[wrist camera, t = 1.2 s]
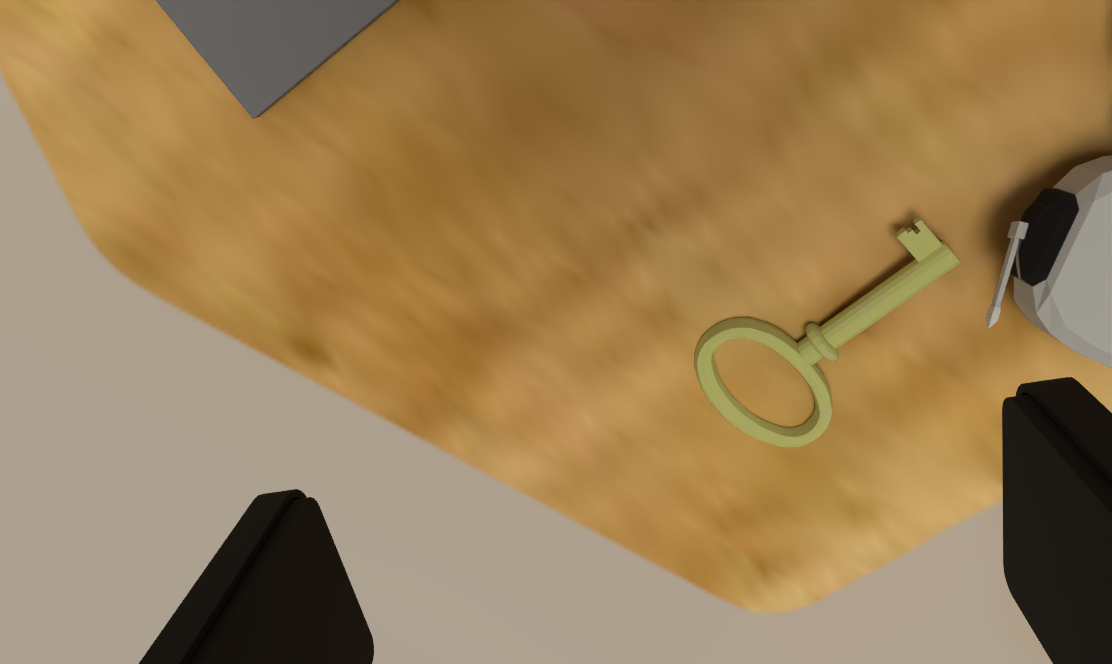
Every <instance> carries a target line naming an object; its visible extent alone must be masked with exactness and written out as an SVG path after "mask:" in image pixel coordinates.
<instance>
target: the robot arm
mask: <svg viewBox="0 0 1112 664" xmlns="http://www.w3.org/2000/svg"><path fill="white" fill-rule="evenodd" d="M1002 439H1003V564H1004V573H1005V578H1006V581H1007V585H1008V587H1009V590H1010V592H1011V594H1012V596H1013V598H1014V599H1015V601H1016V603H1017V604H1018V606H1019V608H1020V610H1021V611H1022V613H1023V615H1024V616H1025V618H1026V620H1027V621H1028V623H1029V625H1030V626H1031V628H1032V629H1033V631H1034V633H1035V634H1036V636H1037V638H1038V640H1039V641H1040V643H1041V644H1042V646H1043V648H1044V649H1045V651H1046V653H1047V654H1048V656H1049V658H1050V659H1051V661H1052V662H1053V664H1112V413H1111V412H1110V411H1109V410H1108V409H1107V408H1106V407H1105V406H1104V405H1102V404H1101V403H1100V402H1099V401H1098V400H1097V399H1096V398H1095V397H1094V396H1093V395H1092V394H1091V393H1090V392H1089V391H1088V390H1086V389H1085V388H1084V387H1083V386H1082V385H1081V384H1080V383H1079V382H1078V381H1077V380H1075V379H1074V378H1072V377H1066V378H1059V379H1052V380H1045V381H1038V382H1031V383H1024V384H1021V385H1020V386H1019V387H1018V389H1017V392H1016V396H1015V397H1008V398H1006V399H1005V400H1004V402H1003V408H1002ZM373 656H374V644H373V638H372V635H371V632H370V630H369V627H368V625H367V622H366V620H365V618H364V615H363V613H362V610H361V608H360V605H359V603H358V600H357V598H356V595H355V593H354V590H353V588H352V585H351V583H350V580H349V578H348V576H347V573H346V571H345V568H344V566H343V563H342V561H341V558H340V556H339V553H338V551H337V548H336V546H335V544H334V541H333V539H332V536H331V534H330V532H329V529H328V526H327V524H326V521H325V519H324V516H323V514H322V511H321V509H320V507H319V505H318V503H317V501H316V500H315V499H314V498H311V497H309V498H307V497H306V496H305V494H304V493H303V492H302V491H300V490H297V489H294V490H287V491H281V492H274V493H267V494H261V495H258V496H257V497H256V498H255V499H254V500H253V502H252V503H251V504H250V506H249V507H248V509H247V510H246V512H245V513H244V514H243V516H242V517H241V519H240V520H239V522H238V523H237V525H236V526H235V528H234V529H233V530H232V532H231V533H230V534H229V536H228V537H227V539H226V540H225V542H224V543H223V544H222V546H221V547H220V549H219V550H218V551H217V553H216V554H215V556H214V557H213V559H212V560H211V562H210V563H209V564H208V566H207V567H206V569H205V570H204V572H203V573H202V574H201V576H200V577H199V579H198V580H197V581H196V583H195V584H194V586H193V587H192V589H191V590H190V591H189V593H188V594H187V596H186V597H185V599H184V600H183V602H182V603H181V604H180V606H179V607H178V609H177V610H176V612H175V613H174V614H173V616H172V617H171V619H170V620H169V621H168V623H167V624H166V626H165V627H164V629H163V630H162V631H161V633H160V634H159V636H158V637H157V638H156V640H155V641H154V643H153V644H152V646H151V647H150V649H149V650H148V651H147V653H146V654H145V656H144V657H143V658H142V660H141V661H140V663H139V664H372V661H373Z"/></svg>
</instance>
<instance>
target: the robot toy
mask: <svg viewBox="0 0 1112 664" xmlns="http://www.w3.org/2000/svg"><path fill="white" fill-rule="evenodd" d="M1007 237H1008V238H1011V240H1010V243H1009V247H1008V250H1007V253H1006V257H1005V260H1004V264H1003V267H1002V270H1001V274H1000V277H999V280H998V284H997V287H996V291H995V294H994V297H993V301H992V304H991V306H989V308H988V312H987V315H986V321H987V325H988V328H990V327H991V326H992V325H993V324H995V323H996V322H997V321H998V318H999V314H1000V311H1001V308H1000V305H1001V301H1002V298H1003V295H1004V291H1005V288H1006V284H1007V281H1008V278H1009V274H1012V275H1013V276H1014V301H1015V302H1016V304H1017V305H1018V307H1019V308H1020V309H1021V311H1022V312H1023V314H1024V315H1025V317H1026V318H1027V319H1028V320H1029V321H1031V322H1032V323H1033V324H1034V325H1035V326H1037V327H1038V328H1040V329H1041V330H1043V331H1044V332H1046V333H1047V334H1049V335H1050V336H1052V337H1054V338H1055V339H1057V340H1058V341H1060V342H1061V343H1063V344H1065V345H1066V346H1068V347H1069V348H1071V349H1073V350H1074V351H1076V352H1078V353H1079V354H1081V355H1083V356H1085V357H1087V358H1090V359H1092V360H1094V361H1097V362H1099V363H1101V364H1103V365H1106V366H1108V367H1110V368H1112V155H1109V156H1103V157H1100V158H1097V159H1094V160H1091V161H1089V162H1086V163H1083V164H1080V165H1077V166H1075V167H1074V168H1073V169H1072V170H1071V171H1070V172H1069V173H1067V174H1066V175H1065V176H1064V177H1063V178H1062V179H1061V180H1060V181H1059V182H1058V183H1057V184H1056V185H1055V186H1054V187H1053V188H1051V189H1043V191H1042V192H1041V193H1040V194H1039V196H1038V197H1037V198H1036V199H1035V201H1034V202H1033V203H1032V204H1031V205H1030V206H1029V207H1028V209H1027V210H1026V211H1025V212H1024V214H1023V216H1022V219H1021V221H1016V222H1011V226H1010V229H1009V232H1008V236H1007Z"/></svg>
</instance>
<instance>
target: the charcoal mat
mask: <svg viewBox="0 0 1112 664" xmlns="http://www.w3.org/2000/svg"><path fill="white" fill-rule="evenodd" d="M156 1H157V3H158V4H159V5H160V6H161V7H162V9H163V10H164V11H165V12H166V13H167V15H168V16H169V17H170V18H171V20H172V21H173V22H174V23H175V24H176V26H177V27H178V28H179V29H180V31H181V32H182V33H183V34H184V35H185V37H186V38H187V39H188V40H189V41H190V43H191V44H192V45H193V46H194V48H195V49H196V50H197V51H198V52H199V54H200V55H201V56H202V57H203V58H204V60H205V61H206V62H207V63H208V65H209V66H210V67H211V68H212V69H213V71H214V72H215V73H216V74H217V76H218V77H219V78H220V79H221V80H222V82H223V83H224V84H225V85H226V86H227V88H228V89H229V90H230V91H231V93H232V94H233V95H234V96H235V97H236V99H237V100H238V101H239V102H240V103H241V105H242V106H243V107H244V108H245V110H246V111H247V112H248V113H249V114H250V116H251V117H252V118H253V119H254V118H257V117H259V116H260V115H262V114H263V113H264V112H265V111H266V110H268V109H269V108H270V107H271V106H272V105H274V104H275V103H276V102H277V101H278V100H280V99H281V98H282V97H283V96H285V95H286V94H287V93H288V92H289V91H291V90H292V89H293V88H294V87H295V86H297V85H298V84H299V83H300V82H301V81H303V80H304V79H305V78H306V77H307V76H309V75H310V74H311V73H312V72H313V71H315V70H316V69H317V68H318V67H319V66H321V65H322V64H323V63H324V62H325V61H327V60H328V59H329V58H330V57H331V56H333V55H334V54H335V53H336V52H337V51H339V50H340V49H341V48H342V47H343V46H345V45H346V44H347V43H348V42H349V41H351V40H352V39H353V38H354V37H355V36H357V35H358V34H359V33H360V32H361V31H363V30H364V29H365V28H366V27H367V26H369V25H370V24H371V23H372V22H373V21H375V20H376V19H377V18H378V17H379V16H381V15H382V14H383V13H384V12H385V11H387V10H388V9H389V8H390V7H391V6H393V5H394V4H395V3H396V2H398V1H399V0H156Z"/></svg>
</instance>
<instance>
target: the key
mask: <svg viewBox="0 0 1112 664" xmlns="http://www.w3.org/2000/svg"><path fill="white" fill-rule="evenodd" d="M913 222H914V224H915V225H916V226H917V227H918V228H917V229H916V230H915V231H913V229H912V228H911V227H909V228H908V229H905V228H904V227H903V228H902V229H900V230H899V231H898V232H896V233H895V235H896V237H897V238H898V239H899V240H900V241H901V242H902V244H903V245H904V246H905V247H906V248H907V249H908V250H909V252H910V253H911V254H912V255H913V256H914V257H915V260H913V261H912V262H910V263H909V264H908V265H906V266H905V267H903V268H902V269H901V270H899V271H898V272H896V273H895V274H894V275H892V276H891V277H889V278H888V279H886V280H885V281H884V282H882V283H881V284H879V285H878V286H877V287H875V288H874V289H872V290H871V291H870V292H868V293H867V294H865V295H864V296H863V297H861V298H860V299H858V300H857V301H856V302H854V303H853V304H851V305H850V306H848V307H847V308H846V309H844V310H843V311H841V312H840V313H839V314H837V315H836V316H834V317H833V318H832V319H830V320H829V321H827V322H826V323H825V324H823V325H822V326H819V325H817V324H815V323H810V324H808V325H807V326H806V335H807V336H806V337H805V338H803V339H802V340H801V341H799V342H798V343H797V342H795V341H794V340H793V339H792V338H791V337H789V336H788V335H787V334H785V333H784V332H783V331H782V330H780V329H778V328H776V327H774V326H773V325H771V324H769V323H766V322H763V321H760V320H756V319H753V318H745V317H738V318H731V319H727V320H725V321H722V322H719V323H718V324H716V325H715V326H713V327H712V328H710V329H709V330H708V331H707V332H706V333H705V334H704V335H703V336H702V338H701V339H700V341H699V343H698V345H697V348H696V352H695V355H694V365H695V370H696V375H697V379H698V381H699V384H700V387H701V389H702V390H703V392H704V394H705V396H706V397H707V398H708V400H709V401H710V402H711V404H712V405H713V406H714V407H715V408H716V409H717V410H718V411H719V413H720V414H721V415H723V416H724V417H725V418H726V419H727V420H728V421H729V422H731V423H732V424H733V425H735V426H736V427H737V428H739V429H740V430H741V431H743V432H744V433H746V434H748V435H749V436H751V437H753V438H756V439H758V440H760V441H763V442H766V443H769V444H772V445H776V446H781V447H798V446H803V445H806V444H808V443H810V442H812V441H814V440H815V439H817V438H818V437H819V436H821V435H822V434H823V432H824V431H825V430H826V429H827V427H828V425H829V422H830V420H831V415H832V398H831V392H830V388H829V385H828V383H827V381H826V378H825V376H824V375H823V373H822V372H821V371H820V369H819V368H818V366H817V365H816V363H817V362H818V361H820V360H821V359H823V358H825V359H826V360H828V361H835V360H837V359H838V358H839V351H838V349H837V348H839V347H840V346H841V345H843V344H844V343H846V342H847V341H849V340H850V339H852V338H853V337H854V336H856V335H857V334H859V333H860V332H862V331H863V330H865V329H866V328H868V327H869V326H870V325H872V324H873V323H875V322H876V321H878V320H879V319H881V318H882V317H883V316H885V315H886V314H888V313H889V312H891V311H892V310H894V309H895V308H897V307H898V306H899V305H901V304H902V303H904V302H905V301H907V300H908V299H910V298H911V297H913V296H914V295H915V294H917V293H918V292H920V291H921V290H923V289H924V288H926V287H927V286H928V285H930V284H931V283H933V282H934V281H936V280H937V279H939V278H940V277H942V276H943V275H944V274H946V273H947V272H949V271H950V270H952V269H953V268H955V267H956V266H957V265H959V264H960V263H961V262H960V260H959V259H958V258H957V257H956V255H955V254H954V253H953V252H952V251H951V249H950V248H949V247H948V246H947V245H946V244H945V242H944V241H943V240H941V241H939V240H938V239H937V238H936V237H935V235H934V234H933V233H932V232H931V231H930V230H929V228H928V227H927V226H926V225H925V224H924V222H923V221H922V220H921V219H920V218H919V217H917V218H915V219H914V220H913ZM735 338H748V339H751V340H754V341H757V342H760V343H763V344H765V345H766V346H768V347H770V348H772V349H774V350H775V351H777V352H778V353H779V354H781V355H782V356H783V357H784V358H786V359H787V360H788V361H789V362H790V363H791V364H792V365H793V366H795V367H796V368H797V370H798V371H799V372H800V373H801V374H802V375H803V377H804V378H805V379H806V381H807V382H808V384H809V386H810V388H811V390H812V393H813V396H814V400H815V404H816V406H815V410H814V412H813V414H812V416H811V417H810V418H809V419H808V420H807V421H806V422H805V423H804V424H802V425H799V426H796V427H782V426H778V425H775V424H772V423H770V422H767V421H765V420H762V419H760V418H758V417H757V416H755V415H754V414H752V413H751V412H749V411H748V410H746V409H745V408H744V407H743V406H742V405H741V404H740V403H739V402H738V401H737V400H736V399H735V398H734V397H733V396H732V395H731V394H730V393H729V391H728V390H727V388H726V387H725V385H724V384H723V382H722V381H721V379H720V376H719V374H718V371H717V368H716V365H715V361H714V350H715V349H716V348H717V347H718V345H720V344H722V343H724V342H725V341H728V340H731V339H735Z"/></svg>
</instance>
